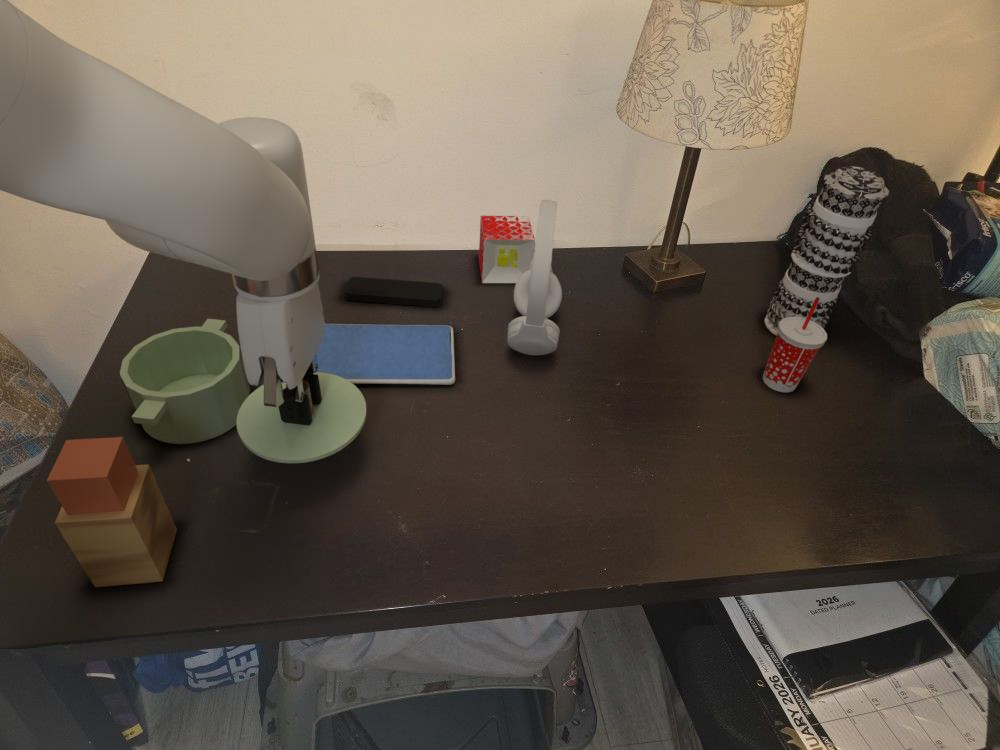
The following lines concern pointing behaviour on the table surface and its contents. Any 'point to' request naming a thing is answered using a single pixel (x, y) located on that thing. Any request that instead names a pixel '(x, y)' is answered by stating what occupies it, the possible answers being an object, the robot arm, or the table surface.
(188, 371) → the light green round pot
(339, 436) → the lid
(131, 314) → the table surface
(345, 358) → the tablet
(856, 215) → the white patterned cylinder
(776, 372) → the beverage cup
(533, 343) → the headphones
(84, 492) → the block
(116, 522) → the block
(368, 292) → the remote control
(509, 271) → the red and white cube
